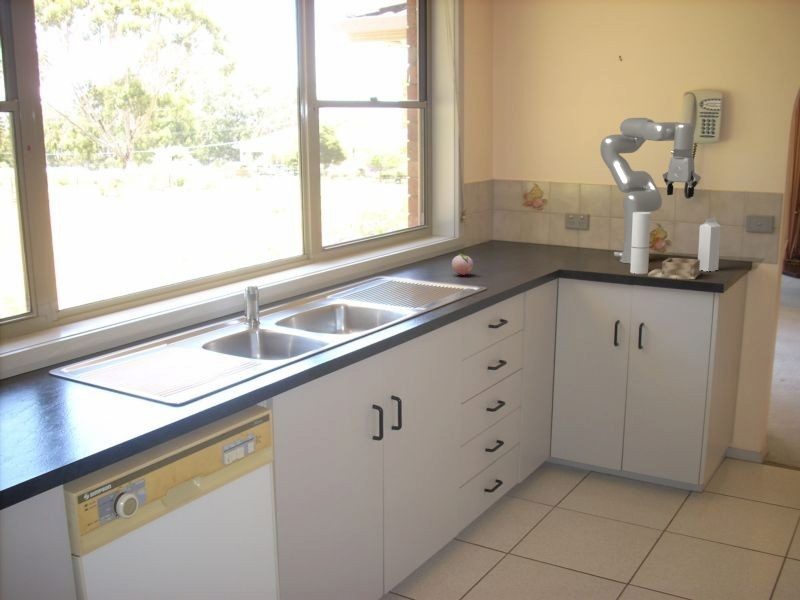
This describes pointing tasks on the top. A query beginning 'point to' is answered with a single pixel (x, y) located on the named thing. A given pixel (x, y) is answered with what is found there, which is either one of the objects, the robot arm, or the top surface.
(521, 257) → the top surface
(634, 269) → the cylindrical container
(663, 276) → the board
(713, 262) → the milk
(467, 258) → the decorative fruit
